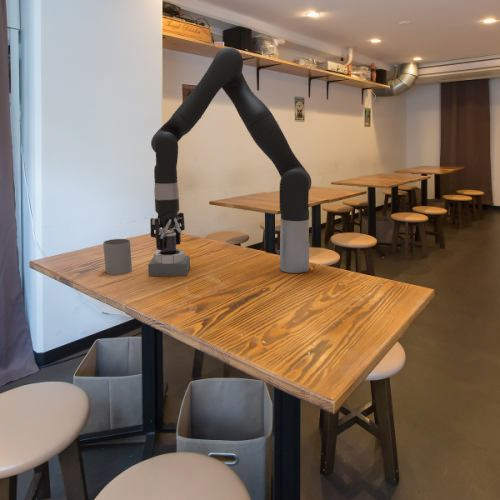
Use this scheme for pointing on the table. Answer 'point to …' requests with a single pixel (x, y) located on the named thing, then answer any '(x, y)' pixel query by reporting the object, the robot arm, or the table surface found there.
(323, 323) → the table surface
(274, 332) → the table surface
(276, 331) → the table surface
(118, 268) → the cup
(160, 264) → the grey block with ring
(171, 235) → the lens
